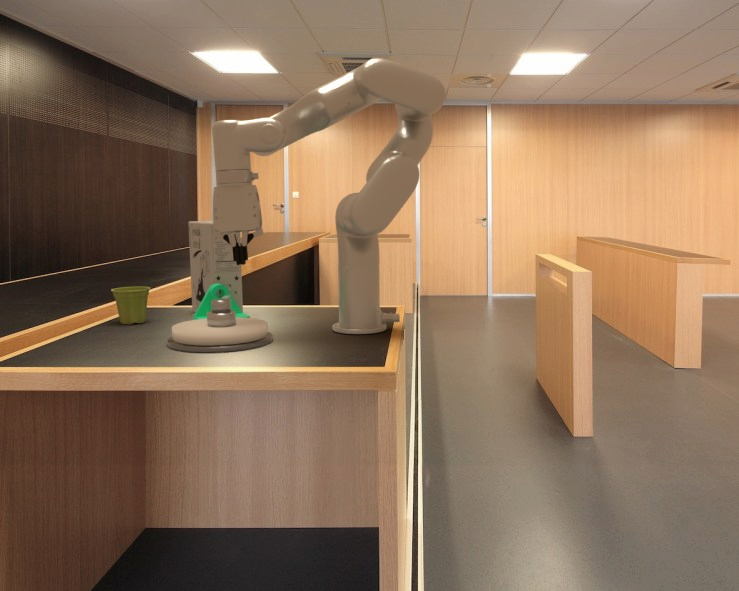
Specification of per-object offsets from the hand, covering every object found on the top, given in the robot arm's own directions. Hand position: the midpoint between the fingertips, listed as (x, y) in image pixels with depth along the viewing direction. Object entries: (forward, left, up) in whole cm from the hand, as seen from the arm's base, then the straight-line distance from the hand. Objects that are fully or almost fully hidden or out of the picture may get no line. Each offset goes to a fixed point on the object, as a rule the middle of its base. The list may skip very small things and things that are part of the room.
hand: (241, 264), depth 146 cm
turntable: (+4, +5, -15) cm, 16 cm away
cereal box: (+12, -30, -17) cm, 37 cm away
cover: (+4, +5, -13) cm, 14 cm away
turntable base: (+4, +5, -16) cm, 18 cm away
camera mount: (+7, -14, -17) cm, 23 cm away
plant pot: (+31, -21, -17) cm, 41 cm away
